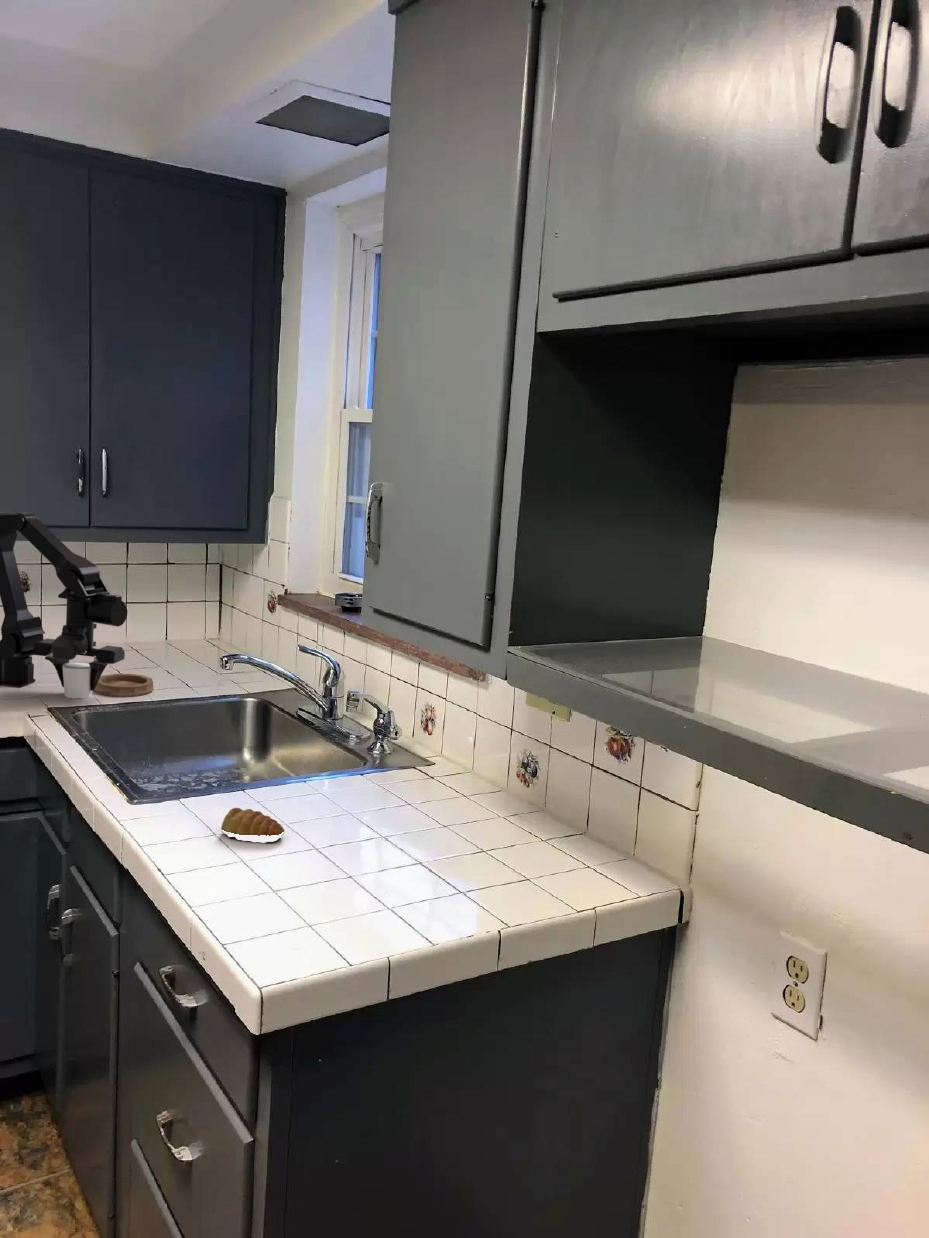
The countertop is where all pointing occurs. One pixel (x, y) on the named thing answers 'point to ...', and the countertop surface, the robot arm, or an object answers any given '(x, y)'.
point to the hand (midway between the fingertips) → (78, 688)
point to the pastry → (250, 823)
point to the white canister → (77, 679)
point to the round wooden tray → (124, 685)
